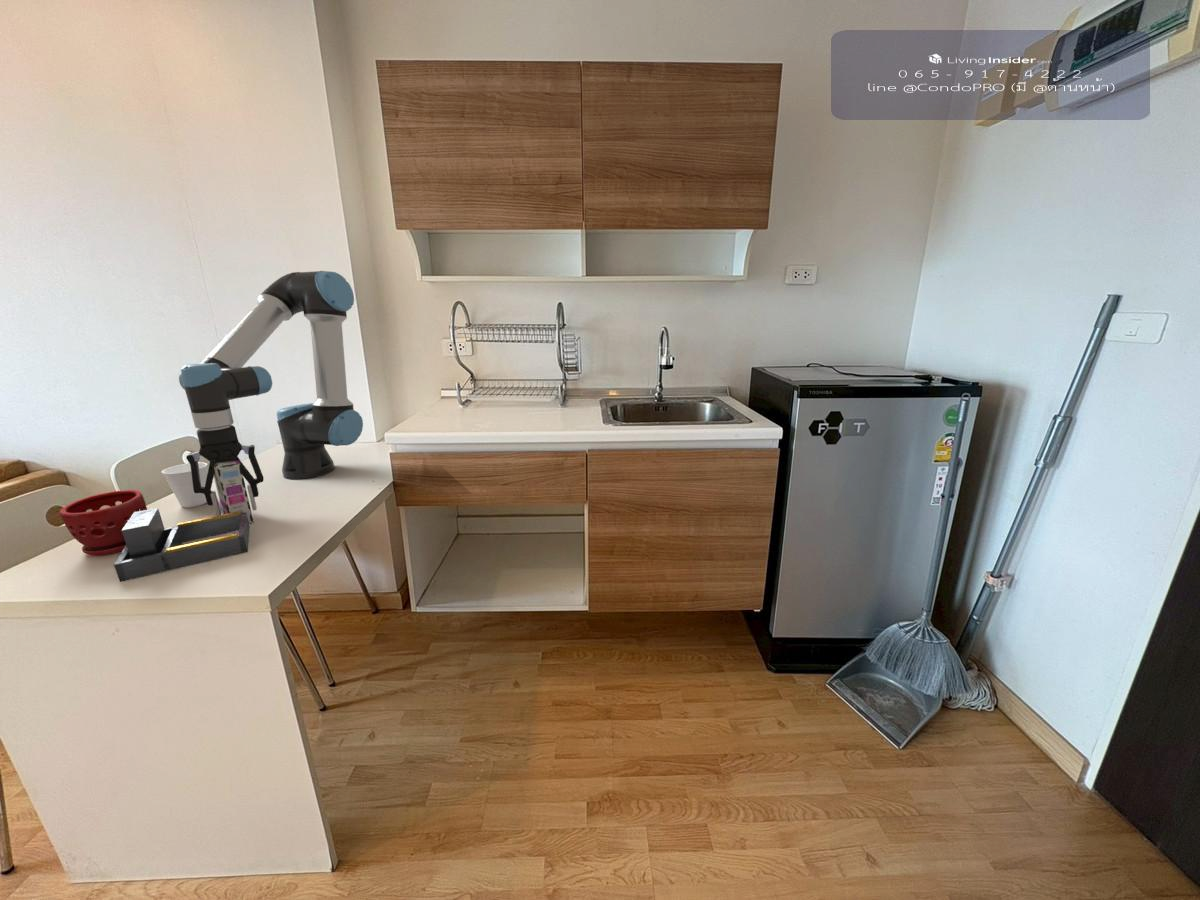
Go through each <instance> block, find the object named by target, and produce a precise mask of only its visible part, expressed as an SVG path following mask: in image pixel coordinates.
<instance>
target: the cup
mask: <svg viewBox="0 0 1200 900" xmlns="http://www.w3.org/2000/svg"><path fill="white" fill-rule="evenodd" d="M198 465H199V474H200V482H201V487H205V483H206V479H207V474H208V467H209V464H208V463H207V462H203V461H202V462H200V461H198ZM161 474H163V476H164V478H165V480H166V481H167V483H168V485H169V487H170V488H171V490H172V492H173V494H174V496H175V497H176V500H177V501H178V503H179V505H180V507H182V508H185V509H187V508H188V509H189V508H195V507H200V506H203V505H205V504H207V501H206V497H205V495H204V494H203V493H194V489H193V481H192V473H191V465H190V463H189V462H188V463H182V464H178V465H176V464H175V465H173V466H170V467H167V468H165V469H162V470H161Z"/></svg>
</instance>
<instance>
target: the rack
mask: <svg viewBox="0 0 1200 900" xmlns="http://www.w3.org/2000/svg"><path fill="white" fill-rule="evenodd" d="M250 527H251V524H249V521H248V517H247V513H241V511H239V512H234V513H229V514H224V515H223V514H221V515H219V516H216V515H213V516H209V517H203V518H199V519H194V520H190V521H189V520H188V521H184V522H178V523H177V524H176V525H175V526H171V527H170V526H169V527H166V528H165V526H164V523H163V519H162V516H161V512H160V509H159V507H155V508H150V509H147V510H143V511H138V512H134V513H133V514H132V516H131V517H130V519H129V520H128V522H127V523H126V525H125V526H124V527H123V529H122V533H123V536H124V539H125V542H126V546H125V547H124V549H123V551H122V552H121V553H119V555H118V557H117V559H116V560H115V562H114V563H113V567H114V569H115V572H116V573H115V574H116V575H117V578H118V580H119V583H122V581H123V582H127V581H131V580H134V579H140V578H144V577H147V576H151V575H156V574H157V575H158V574H160V573H164V572H165V573H166V572H169V571H173V570H177V569H180V568H181V569H182V568H186V567H189V566H194V565H199V564H204V563H206V562H207V563H208V562H212V561H215V560H220V559H223V558H224V559H225V558H228V557H233V556H237V555H241V554H245V553H246V554H247V553H248V551H249V541H250V531H251V529H250ZM233 532H238V533H234V534H229V533H233ZM225 534H227V535H225ZM220 535H225V536H220ZM215 536H219V537H215ZM210 537H211V539H206V538H210ZM212 537H214V538H212ZM201 539H206V540H201ZM196 540H201V541H196ZM193 541H196V542H193ZM186 542H192V543H187V544H184V543H186ZM130 579H131V580H130ZM126 580H127V581H126Z"/></svg>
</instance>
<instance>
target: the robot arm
mask: <svg viewBox="0 0 1200 900" xmlns="http://www.w3.org/2000/svg"><path fill="white" fill-rule="evenodd" d="M257 302H258V303H257V304H255V306H254V307H253V308H252V309H251V310H250V311H249V312H248V313H247V314H246V315H245V316H244V317H243V318H242V319H241V321H239V322H238V324H237V325H236V326H235V327H234V328H233V329H232V330H231V331H230V332H229V333H228V334H227V335H226V336H225V337H224V338H223V339H222V340H221V342H219V343H218V344H217V346H215V347H214V348H213V350H212V351H211V352H210V353H209V354H208V355H207V356H206V357H205V358H204V359H203V360H202V361H201V362H200V363H192V364H185V365H183V366H182V367H181V369H180V373H179V375H178V382H179V385H180V386H181V388H182V389H183V390H184V391H185V395H186V398H187V401H188V406H189V409H190V413H191V416H192V421H193V423H194V428H195V429H197V431H196V436H197V441H198V442H199V450H198V451H195V452H193V453H192V452H188V453H187V454H186V457H185V458H186V460H187V462H188V463H190V465H191V473H192V481H193V489H194V493H203V494H204V495H205V497H206V501H207V503H206V504H207V505H208V506H213V510H214V512H215V513H214V514H215V516H219V515H222V510H221V508H220V507H221V506H220V503H219V498H218V496H217V491H216V490H215V489H214V490H212V487H213V482H214V471H215V470H214V464H216V463H220V462H227V461H238V462H239V463H240V465H241V469H242V473H243V478H244V480H245V481H246V482H247V483H248V484H247V487H246V490H247V494H248V498H249V502H250V504H251V505H250V506H251V510H252V511H257V507H258V506H257V502H256V498H257V497H259V489H258V484H260V483H263V482H264V479H265V478H264V476H263V473H262V469H261V467H260V465H259V462H258V460H257V456H256V454H255V448H256V446H255V445H254V444H250V445H244V444H243V445H242V443H240V441H239V438H238V434H237V430H236V426H234V425H233V424H234V423H235V421H234V419H233V413H232V410H231V405H230V400H232V401H233V400H236V399H241V398H248V397H254V396H257V397H258V396H260V395H263V394H267V393H268V392H270V391H271V389H272V387H273V379H272V375H271V374H270V372H269V371H268V370H267V369H266V368H264V367H262V366H259V365H256V366H252V365H251V366H245V364H247V362H248V361H249V360H250V359H251V358H253V355H255V353H256V352H257V351H258V350H259V349H261V347H262V345H263V344H264V343H265V342H266V341H267V340H268V339H269V338H270V336H271V335H273V333H274V331H275V332H276V330H277V328H278V327H279V326H281V324H282V323H283V322H284V321H285V322H287V321H290V320H291V319H292V317H293V316H295V315H296V314H298V313H299V314H300V313H303V317H305V318H306V319H307V320H308V321H309V323H310V335H311V346H312V354H313V355H312V357H313V359H312V360H313V366H314V368H313V369H314V379H315V391H316V393H315V394H316V400H315V401H314V402H311V403H305V404H303V403H302V404H297V405H292V406H286V407H282V408H280V409H278V410H277V411H276V417H277V425H278V429H279V434H280V439H281V442H282V446H283V451H284V457H283V462H282V467H281V468H282V469H281V473H282V477H283V478H285V479H287V480H289V479H290V480H302V479H311V478H315V477H319V476H324V475H326V474H328V473H331V472H333V471H334V469H335V464H334V460H333V459H332V457H331V455H330V454H329V452H328V450H327V449H326V446H328V445H329V446H336V447H339V446H349V445H352V444H354V443H356V441H358V439H359V438H360V436H361V434H362V432H363V429H364V422H363V417H362V416H361V414H360V413H359V412H358V411H356V410H354V403H353V401H351V400H350V399H349V398H348V389H347V387H348V386H347V374H346V373H347V372H346V363H345V362H346V361H345V348H344V335H343V334H344V333H343V323H344V321H346V320H347V318H348V316H347V312H348V311H349V310H351V309H352V308H353V306H354V303H355V295H354V291H353V289H352V286H351V284H350V283H349V282H348V281H347V279H346V278H345V277H344V276H343V275H342V274H339V273H337V272H335V271H328V270H327V271H326V270H318V271H316V270H315V271H302V272H301V271H295V272H294V271H293V272H290V273H287V274H285V275H283V276H281V277H279V278H278V279H276V280H275V281H273V282H272V283H271V284H269V286H268V287H267V288H265V289H264V290H263V292H261V294H259V296H258V297H257ZM244 366H245V367H244ZM325 445H326V446H325ZM241 451H243V452H244V454H246V455H247V456H248V459H249V461H250V464H251V467H252V469H253V472H254V474H255V477H256V478H255V477H254V476H253V475H252V474H251V472H250V471H249V470H248V468H247V467H246V466H245V465H244V464H243V462H242V460H241V459H240V457H239V455H240V453H241ZM200 457H202V458H204V459H205V460H206V461H208V462H209V464H208V468H207V479H206V483H205V487H201V482H200V474H199V465H198V462H200V459H201V458H200Z"/></svg>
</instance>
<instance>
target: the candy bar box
mask: <svg viewBox="0 0 1200 900" xmlns="http://www.w3.org/2000/svg"><path fill="white" fill-rule="evenodd" d="M214 470H215V471H214V477H213V481H214V483H215V487H216V493H217V495H218V496H217V497H218V501H219V502H220V503H219V505H220V507H221V508H220V509H221V513H222V515H224V514H229V513H234V512H239V511H241V513H247V517H248V521H249V525H252V524H254V523H255V522H254V519H253V518H254V517H253V514H252V507H251V505H250V504H251V503H250V499H249V494H248V490H247V487H246V482H245V478H244V476H243V473H242V469H241V465H240V463H239V462H238V461H227V462H220V463H216V464H214Z"/></svg>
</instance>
